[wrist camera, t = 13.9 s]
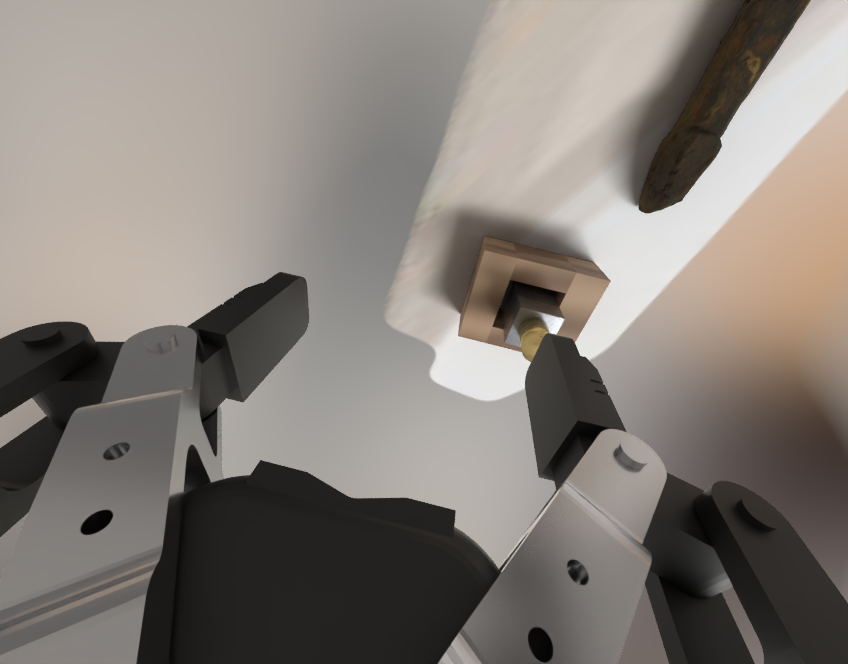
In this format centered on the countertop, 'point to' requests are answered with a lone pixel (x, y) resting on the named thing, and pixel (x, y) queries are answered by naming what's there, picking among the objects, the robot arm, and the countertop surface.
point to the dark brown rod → (718, 99)
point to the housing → (506, 261)
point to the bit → (529, 316)
